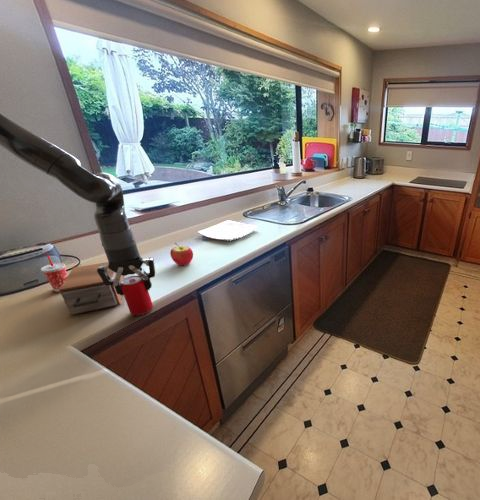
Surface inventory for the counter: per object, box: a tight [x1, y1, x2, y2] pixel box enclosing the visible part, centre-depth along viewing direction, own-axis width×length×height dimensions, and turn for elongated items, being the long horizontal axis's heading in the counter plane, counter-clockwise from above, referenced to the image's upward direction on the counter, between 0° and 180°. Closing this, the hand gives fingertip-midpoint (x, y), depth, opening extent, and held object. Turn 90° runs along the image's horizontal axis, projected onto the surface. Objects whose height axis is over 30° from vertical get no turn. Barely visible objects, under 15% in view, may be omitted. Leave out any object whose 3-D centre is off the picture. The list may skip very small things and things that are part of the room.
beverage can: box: [121, 275, 154, 316], centre depth 90 cm, size 6×6×12 cm
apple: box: [169, 242, 194, 266], centre depth 121 cm, size 8×8×10 cm
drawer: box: [61, 284, 118, 315], centre depth 93 cm, size 19×11×8 cm, turn 30°
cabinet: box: [59, 261, 126, 316], centre depth 96 cm, size 16×13×10 cm
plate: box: [197, 219, 259, 242], centre depth 155 cm, size 24×24×3 cm
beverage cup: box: [40, 253, 69, 293], centre depth 99 cm, size 6×6×14 cm
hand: (135, 291), depth 89 cm, fingers closed on beverage can, 6 cm apart
